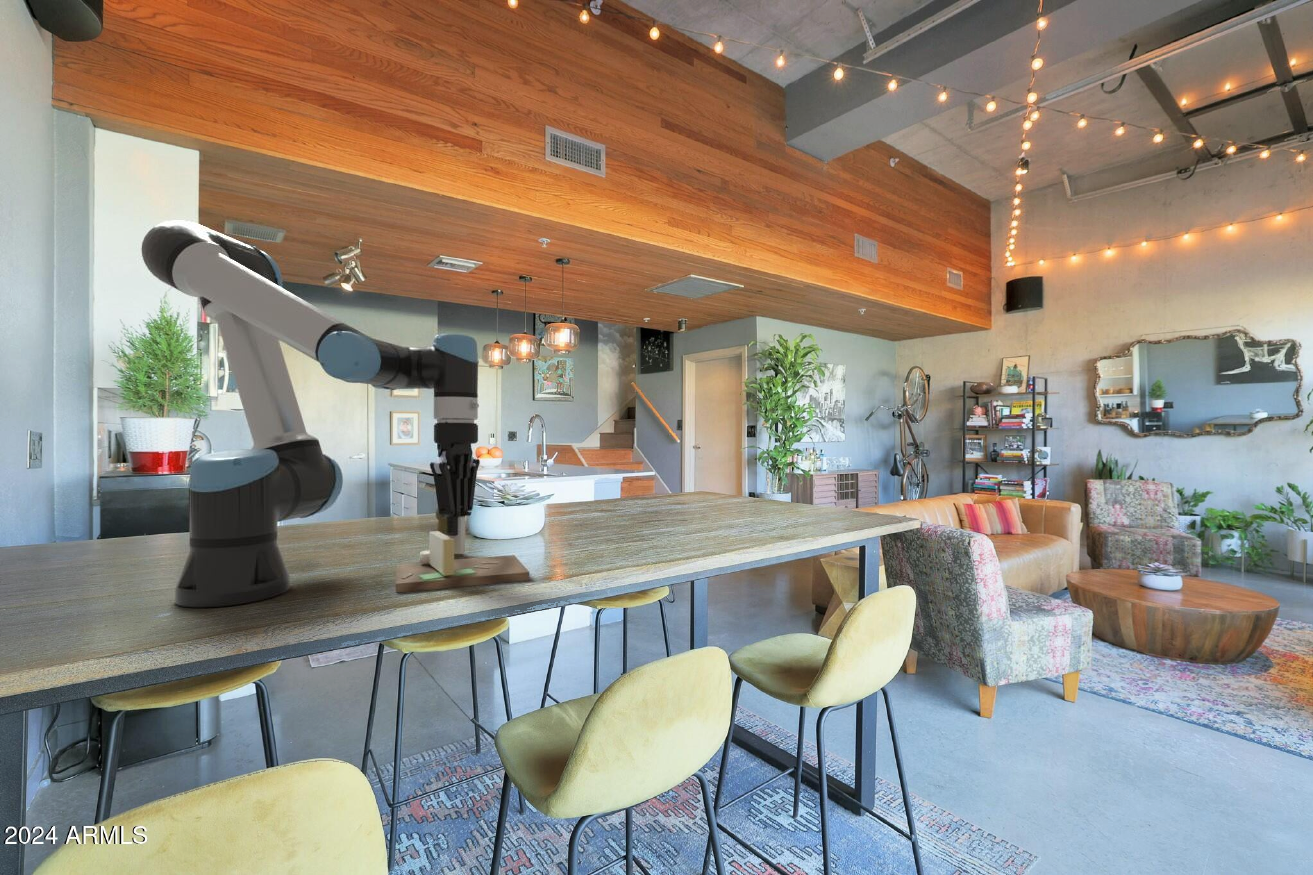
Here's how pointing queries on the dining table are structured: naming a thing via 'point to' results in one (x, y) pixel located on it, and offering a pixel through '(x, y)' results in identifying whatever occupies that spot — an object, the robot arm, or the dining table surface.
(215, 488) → the robot arm
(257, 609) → the dining table surface
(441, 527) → the cork
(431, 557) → the cream block with knob
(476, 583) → the brown flat wooden board
